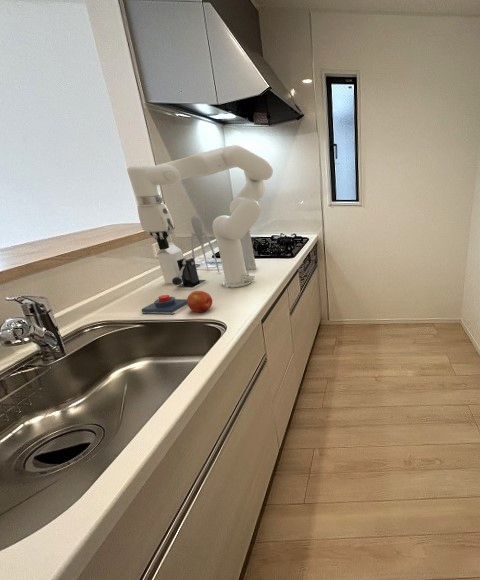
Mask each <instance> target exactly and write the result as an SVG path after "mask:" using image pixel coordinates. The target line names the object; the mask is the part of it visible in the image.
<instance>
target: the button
mask: <svg viewBox="0 0 480 580" xmlns="http://www.w3.org/2000/svg"><path fill="white" fill-rule="evenodd" d="M170 297H171V296H170V294H163V295H160V296H158V298H157V299H159V302H166V301H169V300H171V299H170Z"/></svg>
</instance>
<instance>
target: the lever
mask: <svg viewBox="0 0 480 580" xmlns="http://www.w3.org/2000/svg"><path fill="white" fill-rule="evenodd" d="M188 259H189V258H188ZM188 259H187V258H185V259H184V260H183V262H182V263H181V264H182V265H183V266H182V268H181V270H180V272H179V274H178V276H177V277H175V278H173V279H172V283H171V284H173V286H179V285H181V284H183V282H182V280H181V277H182V275H183V273H184V271H185V269H186V267H187V266H186V262H185V261H186V260H188Z"/></svg>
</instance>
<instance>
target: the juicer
mask: <svg viewBox="0 0 480 580" xmlns="http://www.w3.org/2000/svg"><path fill="white" fill-rule="evenodd" d="M190 223H191V226H192V229H193V232H191V241H190V244H191V245H190V246H191V255H192V258H194V262H195V266H196V267H197V264H196V257H195V246H194V243H195V237H196V238H197V240H198V241H199V243H200V246H201V250H202V255H203V258H204V261H205V266H206V270H209V265H208V261H207V257H206V252H205V251H206V250H205V247H204V241H203V236H204V237H205V239H206V240H207V241H206V242H207V243H208V245H209V247H210V250H211V252H212V256H213V259H214V261H215V266H216V268H217V269H216V270H217V272H218V273H220V269H219V264H218V261H217V257H216V254H215V251H214V247H213V245H212V242H211V240H210V238H209V236H208V234H207V232H206V231H203V224H202V221H201V218H200V217H199V216H198V215H196V214H195V215H193V216H192V217H191V219H190ZM196 270H197V268H196ZM197 271H198V270H197Z"/></svg>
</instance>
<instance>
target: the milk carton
mask: <svg viewBox="0 0 480 580" xmlns="http://www.w3.org/2000/svg"><path fill="white" fill-rule="evenodd" d="M168 244H169V248H167V249H165V250H163V249H162V250H160V249H159V251H158V252H157V253H156V256H157V260H158V263H159V267H160V270H161V273H162V277H163V280H164V284H173V283H172V279H173V278H175V277H177V276H178V274H179V272H180V271H179V267H178V263H177V260H180V259H182V258H185V257H184V253H183V250H182V249H180V247H178V246H177V245H175V244H174V241H172V242H168ZM181 280H182V278H181Z"/></svg>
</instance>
